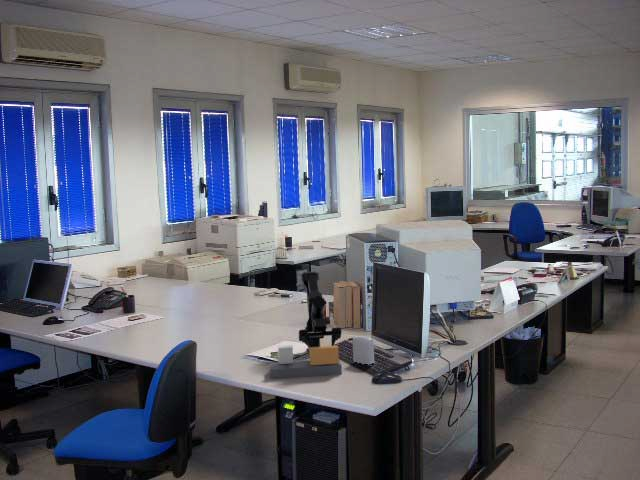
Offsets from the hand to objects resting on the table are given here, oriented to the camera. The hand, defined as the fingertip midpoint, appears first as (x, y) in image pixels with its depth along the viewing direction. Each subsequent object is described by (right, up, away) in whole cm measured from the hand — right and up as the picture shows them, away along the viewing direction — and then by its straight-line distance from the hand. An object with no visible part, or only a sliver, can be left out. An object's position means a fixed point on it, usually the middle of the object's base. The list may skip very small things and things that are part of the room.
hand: (322, 351), depth 298 cm
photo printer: (+19, -7, +7) cm, 21 cm away
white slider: (-16, -5, -3) cm, 17 cm away
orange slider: (+1, -5, -6) cm, 8 cm away
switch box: (-7, -9, -4) cm, 12 cm away
